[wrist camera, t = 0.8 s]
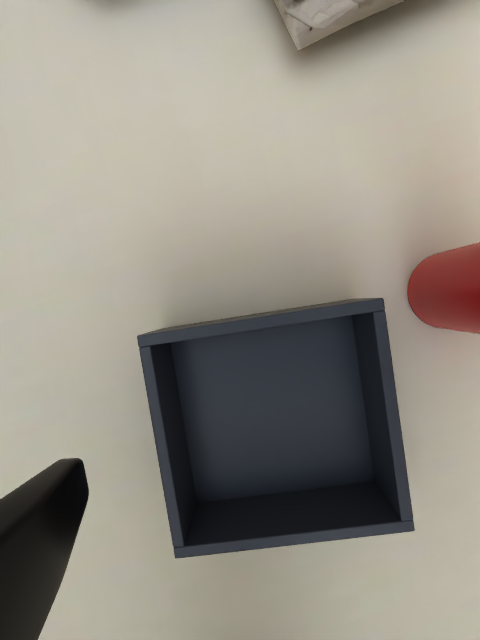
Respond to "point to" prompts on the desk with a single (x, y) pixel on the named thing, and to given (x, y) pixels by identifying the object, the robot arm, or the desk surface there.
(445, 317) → the candy tube
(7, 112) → the desk surface
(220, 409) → the desk bin
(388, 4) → the packaged product
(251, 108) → the desk surface
